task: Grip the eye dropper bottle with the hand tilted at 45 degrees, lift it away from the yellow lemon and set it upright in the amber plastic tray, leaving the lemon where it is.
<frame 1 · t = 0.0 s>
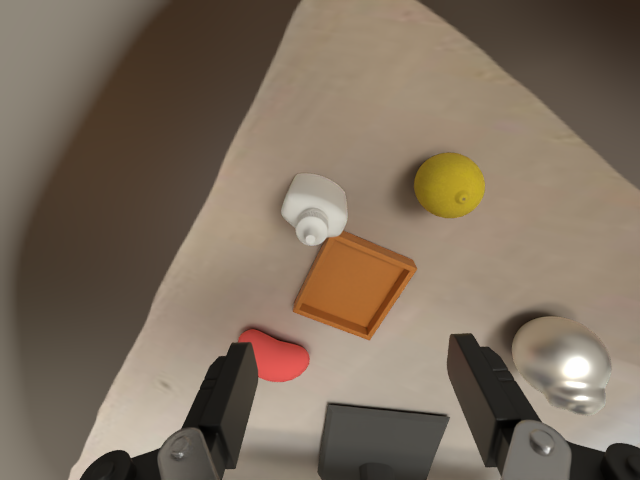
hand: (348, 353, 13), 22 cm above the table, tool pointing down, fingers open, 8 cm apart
amber tray: (351, 281, 37), on the table
lemon: (433, 174, 32), on the table
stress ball: (275, 342, 42), on the table
silver rounded lump: (533, 331, 39), on the table
eye dropper bottle: (318, 190, 33), on the table
computer monitor: (378, 440, 50), on the table
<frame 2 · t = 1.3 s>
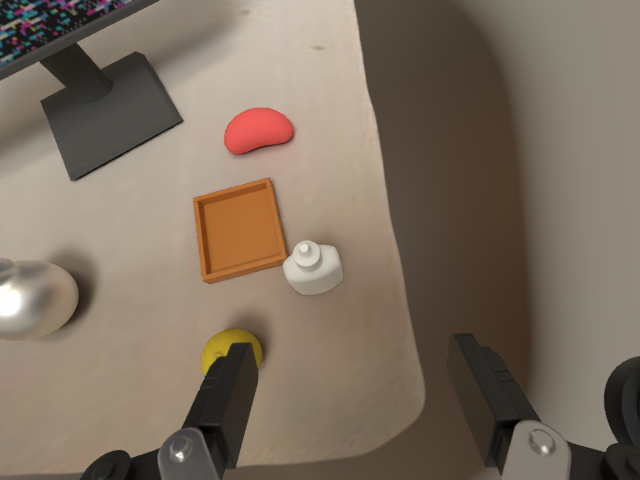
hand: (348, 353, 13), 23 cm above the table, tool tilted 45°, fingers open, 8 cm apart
amber tray: (242, 232, 40), on the table
lemon: (246, 356, 35), on the table
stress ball: (262, 142, 45), on the table
silver rounded lump: (63, 303, 39), on the table
eye dropper bottle: (319, 279, 37), on the table
computer monitor: (114, 117, 49), on the table
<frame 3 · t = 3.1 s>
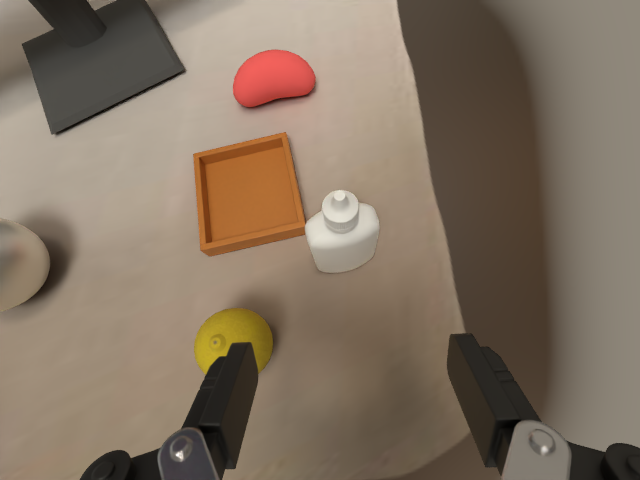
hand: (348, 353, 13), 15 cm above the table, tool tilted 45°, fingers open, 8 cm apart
amber tray: (251, 196, 33), on the table
lemon: (252, 345, 28), on the table
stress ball: (278, 95, 38), on the table
silver rounded lump: (33, 274, 33), on the table
eye dropper bottle: (343, 255, 30), on the table
computer monitor: (106, 66, 42), on the table
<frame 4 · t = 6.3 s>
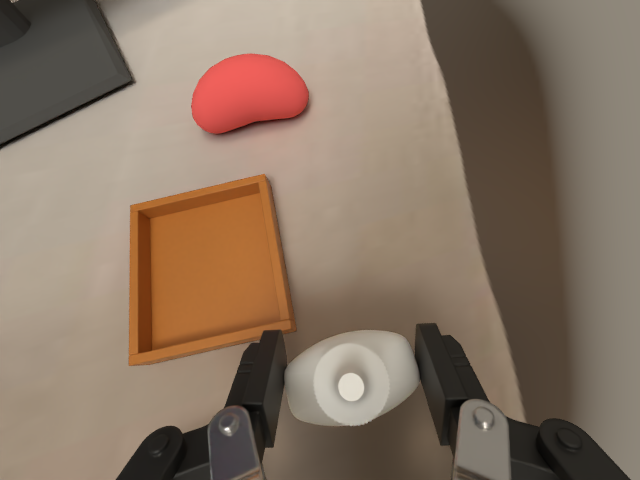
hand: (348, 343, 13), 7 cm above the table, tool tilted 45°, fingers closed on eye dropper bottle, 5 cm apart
amber tray: (214, 268, 23), on the table
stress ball: (258, 116, 27), on the table
eye dropper bottle: (350, 368, 20), on the table, touching gripper
computer monitor: (33, 75, 32), on the table
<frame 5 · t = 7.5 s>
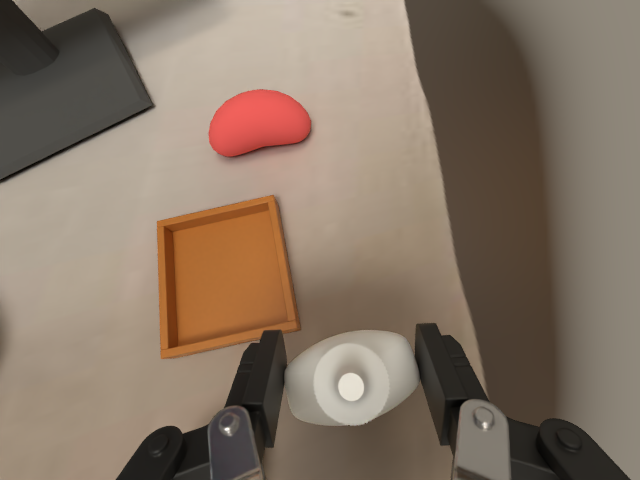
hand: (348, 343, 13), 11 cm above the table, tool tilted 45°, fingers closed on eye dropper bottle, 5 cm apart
amber tray: (230, 276, 27), on the table
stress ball: (265, 140, 31), on the table
eye dropper bottle: (350, 368, 20), point 4 cm above the table, touching gripper
computer monitor: (60, 98, 35), on the table
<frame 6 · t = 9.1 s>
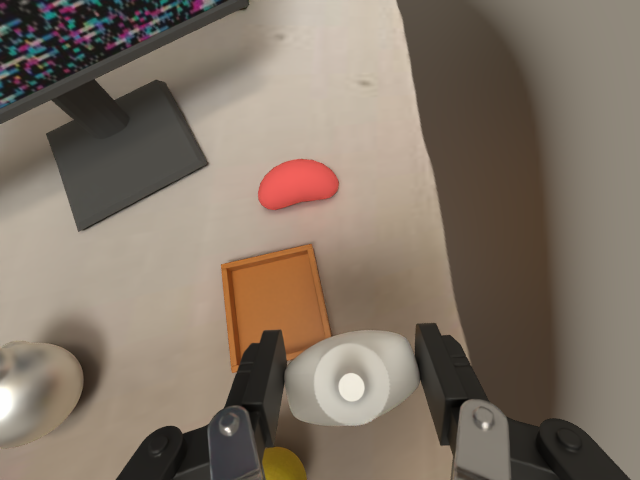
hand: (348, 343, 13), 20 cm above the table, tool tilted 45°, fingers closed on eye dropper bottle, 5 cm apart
amber tray: (278, 307, 34), on the table
lemon: (283, 470, 29), on the table
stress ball: (301, 194, 39), on the table
silver rounded lump: (65, 384, 34), on the table
eye dropper bottle: (350, 368, 20), point 13 cm above the table, touching gripper
computer monitor: (129, 155, 43), on the table
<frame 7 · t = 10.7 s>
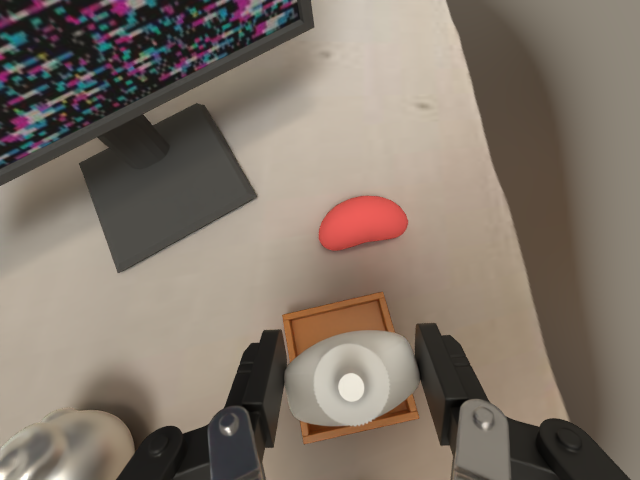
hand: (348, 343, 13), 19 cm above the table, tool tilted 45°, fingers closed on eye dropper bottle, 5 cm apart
amber tray: (346, 362, 31), on the table
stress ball: (362, 231, 35), on the table
silver rounded lump: (111, 450, 30), on the table
eye dropper bottle: (350, 368, 20), point 12 cm above the table, touching gripper
computer monitor: (169, 185, 40), on the table
when the fingers open (8 cm above the table, at t = 14.2 s): eye dropper bottle stays where it is, resting on amber tray.
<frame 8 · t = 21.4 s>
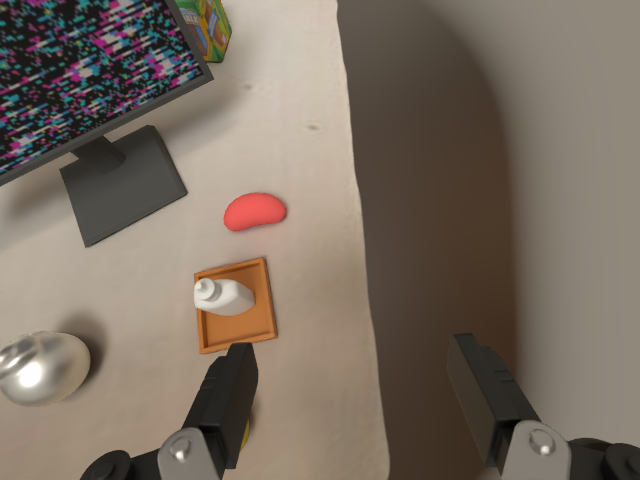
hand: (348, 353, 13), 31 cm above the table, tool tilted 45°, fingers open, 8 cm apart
amber tray: (237, 305, 45), on the table
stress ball: (258, 218, 50), on the table
silver rounded lump: (76, 364, 44), on the table
chalk box: (207, 46, 64), on the table
eye dropper bottle: (236, 303, 45), resting on amber tray
computer monitor: (125, 185, 54), on the table
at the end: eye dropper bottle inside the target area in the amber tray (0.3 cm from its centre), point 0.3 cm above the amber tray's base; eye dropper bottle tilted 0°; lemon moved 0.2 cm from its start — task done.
